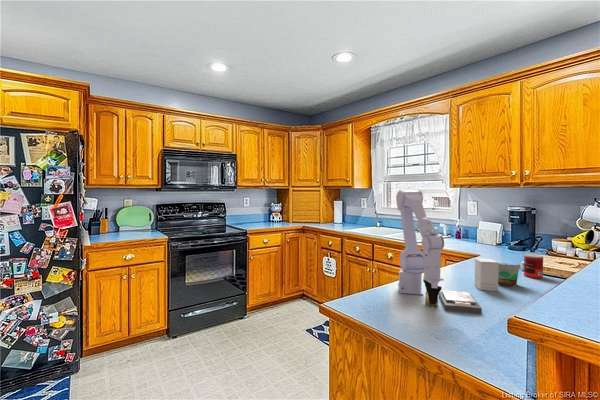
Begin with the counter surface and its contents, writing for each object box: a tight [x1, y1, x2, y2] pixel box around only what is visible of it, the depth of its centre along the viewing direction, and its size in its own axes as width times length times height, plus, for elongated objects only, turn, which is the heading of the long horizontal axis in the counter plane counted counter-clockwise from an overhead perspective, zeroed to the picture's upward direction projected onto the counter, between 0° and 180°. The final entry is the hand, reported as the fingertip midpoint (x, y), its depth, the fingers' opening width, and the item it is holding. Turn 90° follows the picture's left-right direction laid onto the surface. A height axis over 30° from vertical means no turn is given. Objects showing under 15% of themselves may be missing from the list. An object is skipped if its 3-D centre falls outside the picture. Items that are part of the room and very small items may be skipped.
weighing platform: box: [441, 289, 477, 304], centre depth 121 cm, size 10×11×1 cm
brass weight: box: [425, 291, 439, 308], centre depth 119 cm, size 4×4×4 cm
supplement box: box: [474, 257, 500, 292], centre depth 139 cm, size 7×7×13 cm
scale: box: [438, 291, 483, 315], centre depth 119 cm, size 12×15×3 cm
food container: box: [498, 262, 522, 288], centre depth 143 cm, size 12×6×10 cm, turn 68°
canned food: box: [523, 253, 544, 280], centre depth 156 cm, size 8×8×11 cm
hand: (431, 301), depth 119 cm, fingers open, 5 cm apart
